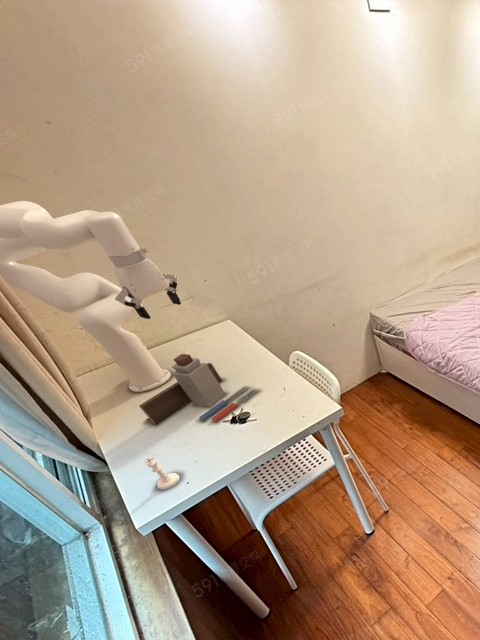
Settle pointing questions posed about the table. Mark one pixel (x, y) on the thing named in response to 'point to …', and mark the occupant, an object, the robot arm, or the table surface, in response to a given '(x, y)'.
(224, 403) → the knife
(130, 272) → the robot arm
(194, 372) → the perfume bottle
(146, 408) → the shelf
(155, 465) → the chess piece
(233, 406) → the fork
